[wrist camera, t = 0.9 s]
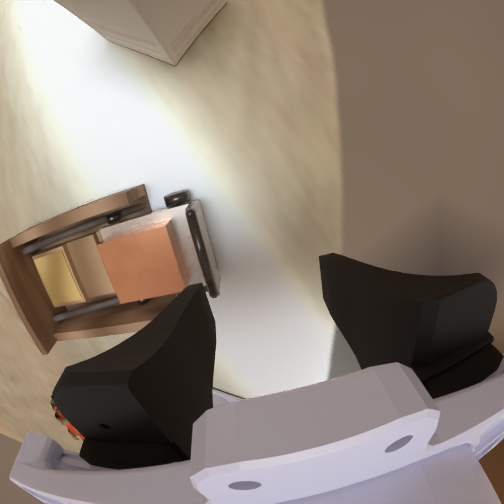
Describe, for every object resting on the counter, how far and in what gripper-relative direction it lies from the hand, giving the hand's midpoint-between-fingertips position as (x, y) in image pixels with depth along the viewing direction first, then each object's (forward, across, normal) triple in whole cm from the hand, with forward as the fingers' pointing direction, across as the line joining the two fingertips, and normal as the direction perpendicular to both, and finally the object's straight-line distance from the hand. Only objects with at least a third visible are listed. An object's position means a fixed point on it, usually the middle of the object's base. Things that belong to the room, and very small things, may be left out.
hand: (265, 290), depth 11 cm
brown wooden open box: (+10, +13, 0) cm, 17 cm away
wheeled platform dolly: (+10, +7, 0) cm, 13 cm away
